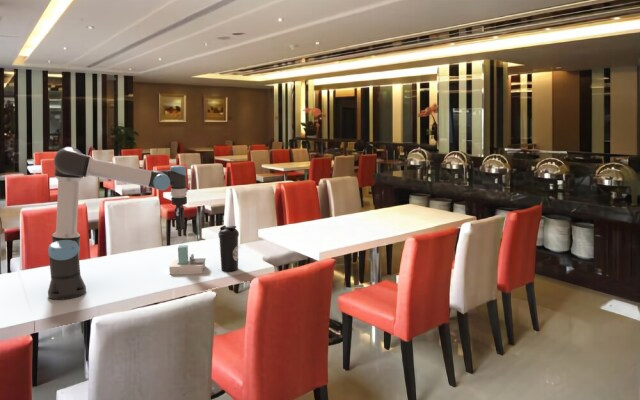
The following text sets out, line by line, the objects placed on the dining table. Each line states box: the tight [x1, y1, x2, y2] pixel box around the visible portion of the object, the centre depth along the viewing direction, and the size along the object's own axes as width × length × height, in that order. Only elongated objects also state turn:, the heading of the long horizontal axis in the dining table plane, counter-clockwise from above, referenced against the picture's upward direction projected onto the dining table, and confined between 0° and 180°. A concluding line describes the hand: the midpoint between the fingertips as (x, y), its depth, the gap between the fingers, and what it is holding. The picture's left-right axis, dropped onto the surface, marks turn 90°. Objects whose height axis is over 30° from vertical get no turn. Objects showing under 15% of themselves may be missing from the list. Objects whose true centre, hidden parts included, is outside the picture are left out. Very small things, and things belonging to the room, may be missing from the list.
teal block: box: [177, 244, 189, 265], centre depth 250 cm, size 4×4×12 cm
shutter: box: [189, 253, 206, 264], centre depth 251 cm, size 7×7×3 cm
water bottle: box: [218, 225, 240, 273], centre depth 251 cm, size 10×10×23 cm
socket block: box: [168, 258, 206, 275], centre depth 251 cm, size 16×12×4 cm
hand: (180, 241), depth 249 cm, fingers closed
